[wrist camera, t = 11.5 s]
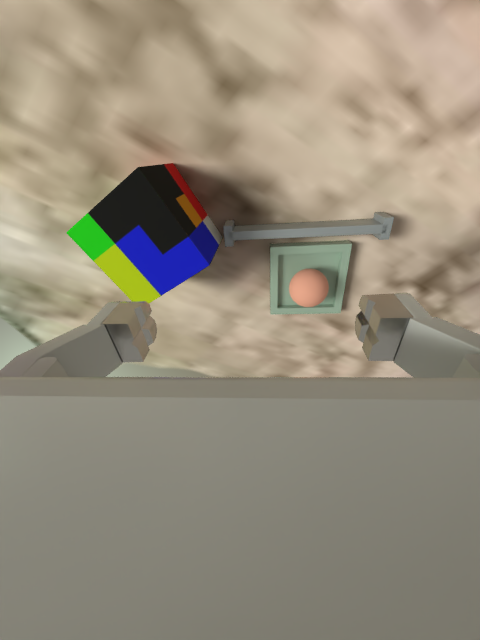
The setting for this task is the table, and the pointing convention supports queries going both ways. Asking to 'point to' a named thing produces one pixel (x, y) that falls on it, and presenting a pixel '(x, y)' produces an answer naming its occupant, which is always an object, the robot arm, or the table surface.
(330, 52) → the table surface
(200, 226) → the puzzle toy
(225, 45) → the table surface
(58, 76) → the table surface
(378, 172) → the table surface
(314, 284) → the ball
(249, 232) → the bar with end supports
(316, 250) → the dish
